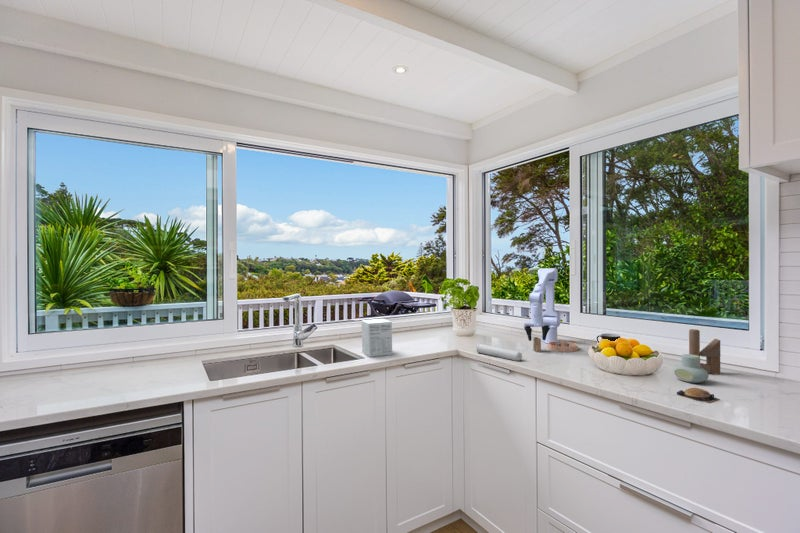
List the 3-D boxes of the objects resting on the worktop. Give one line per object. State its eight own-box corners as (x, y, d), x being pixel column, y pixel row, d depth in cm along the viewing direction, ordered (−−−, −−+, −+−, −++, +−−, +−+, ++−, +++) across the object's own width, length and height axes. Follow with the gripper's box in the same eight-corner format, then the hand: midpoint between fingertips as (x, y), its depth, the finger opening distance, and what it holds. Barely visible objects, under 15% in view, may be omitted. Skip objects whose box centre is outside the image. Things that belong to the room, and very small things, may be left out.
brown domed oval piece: (721, 401, 134) (721, 390, 134) (707, 405, 130) (707, 394, 130) (687, 392, 143) (687, 382, 143) (673, 395, 139) (673, 385, 139)
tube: (524, 352, 191) (483, 344, 210) (519, 350, 187) (477, 342, 207) (523, 363, 190) (481, 354, 209) (517, 361, 186) (475, 352, 206)
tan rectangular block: (533, 350, 211) (533, 337, 211) (537, 350, 211) (536, 337, 211) (537, 352, 206) (537, 339, 206) (540, 352, 206) (540, 338, 206)
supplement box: (393, 354, 206) (392, 321, 206) (368, 357, 201) (368, 323, 201) (384, 349, 218) (384, 318, 218) (361, 352, 213) (361, 320, 213)
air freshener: (669, 378, 158) (669, 353, 158) (683, 376, 161) (683, 351, 161) (698, 386, 148) (698, 359, 147) (713, 383, 151) (712, 357, 150)
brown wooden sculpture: (720, 374, 162) (720, 330, 162) (691, 373, 164) (691, 330, 164) (715, 371, 166) (715, 329, 166) (687, 371, 168) (686, 329, 167)
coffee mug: (624, 356, 194) (623, 336, 194) (606, 356, 194) (606, 336, 194) (611, 351, 206) (611, 332, 205) (595, 351, 206) (595, 332, 206)
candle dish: (543, 346, 221) (543, 340, 221) (569, 345, 222) (569, 340, 222) (555, 352, 206) (555, 346, 206) (583, 351, 207) (583, 345, 207)
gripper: (526, 316, 204) (526, 342, 204) (553, 315, 205) (553, 341, 205) (521, 314, 211) (521, 339, 211) (547, 313, 212) (547, 338, 212)
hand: (536, 340), depth 209 cm, fingers open, 7 cm apart
